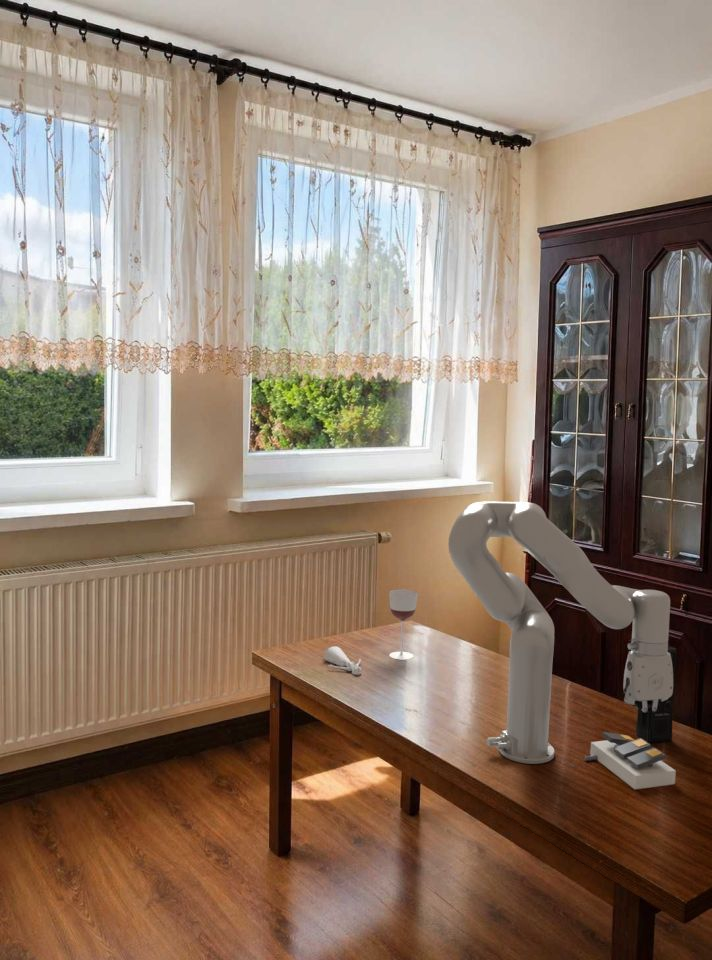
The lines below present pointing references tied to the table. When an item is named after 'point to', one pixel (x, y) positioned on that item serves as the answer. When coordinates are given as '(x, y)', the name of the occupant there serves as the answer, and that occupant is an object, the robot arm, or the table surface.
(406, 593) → the wineglass
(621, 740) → the rocker near arm
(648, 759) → the rocker far end
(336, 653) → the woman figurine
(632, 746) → the rocker middle
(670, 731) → the portable radio
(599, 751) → the rocker switch panel
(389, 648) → the table surface
